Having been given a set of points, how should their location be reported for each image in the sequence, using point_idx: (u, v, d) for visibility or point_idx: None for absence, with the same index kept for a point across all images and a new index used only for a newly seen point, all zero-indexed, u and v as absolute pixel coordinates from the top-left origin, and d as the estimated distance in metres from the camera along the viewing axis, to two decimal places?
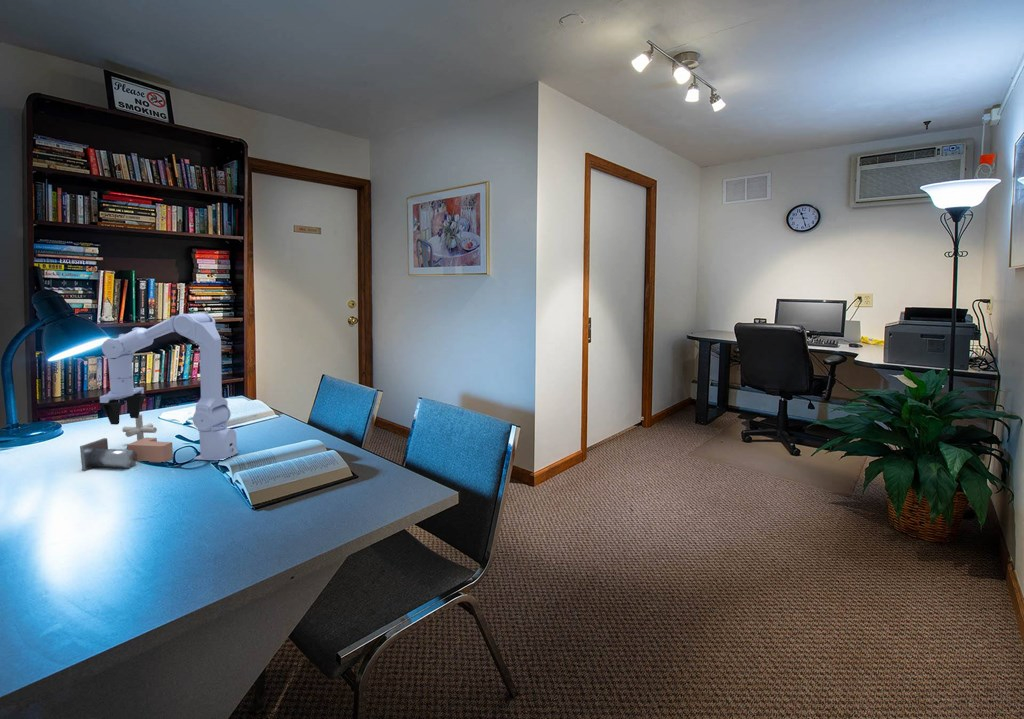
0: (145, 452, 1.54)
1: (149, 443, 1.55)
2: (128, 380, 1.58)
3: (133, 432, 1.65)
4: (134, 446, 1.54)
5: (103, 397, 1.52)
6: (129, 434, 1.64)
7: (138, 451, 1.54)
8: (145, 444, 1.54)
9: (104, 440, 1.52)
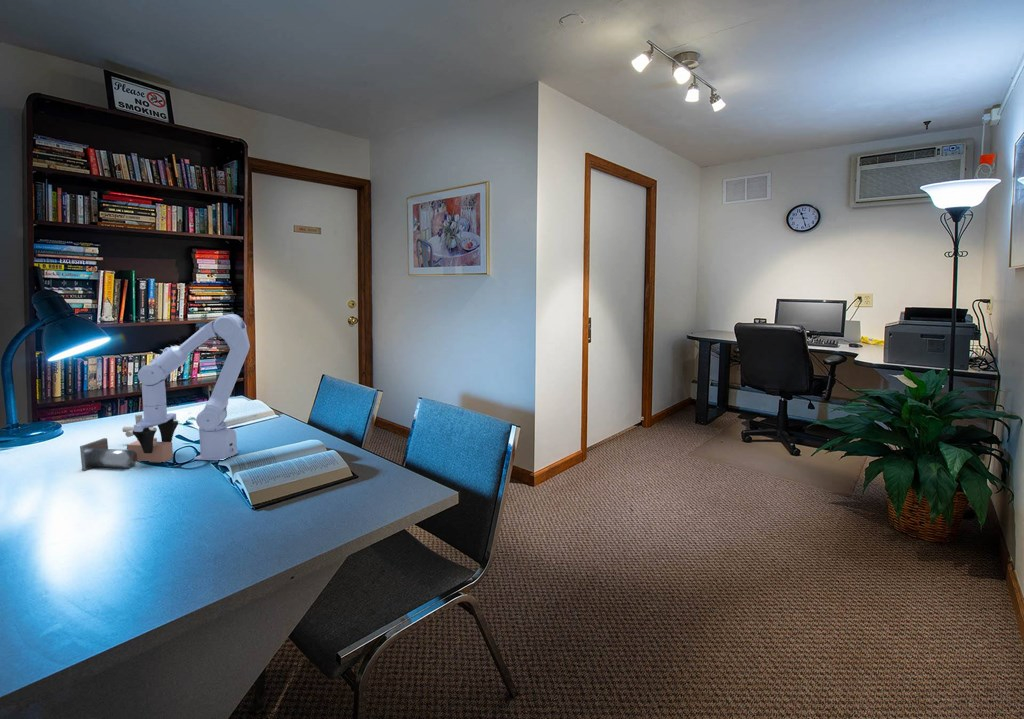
0: None
1: None
2: (162, 407, 1.53)
3: None
4: (134, 446, 1.54)
5: (137, 426, 1.47)
6: (129, 434, 1.64)
7: (138, 451, 1.54)
8: None
9: (104, 440, 1.52)
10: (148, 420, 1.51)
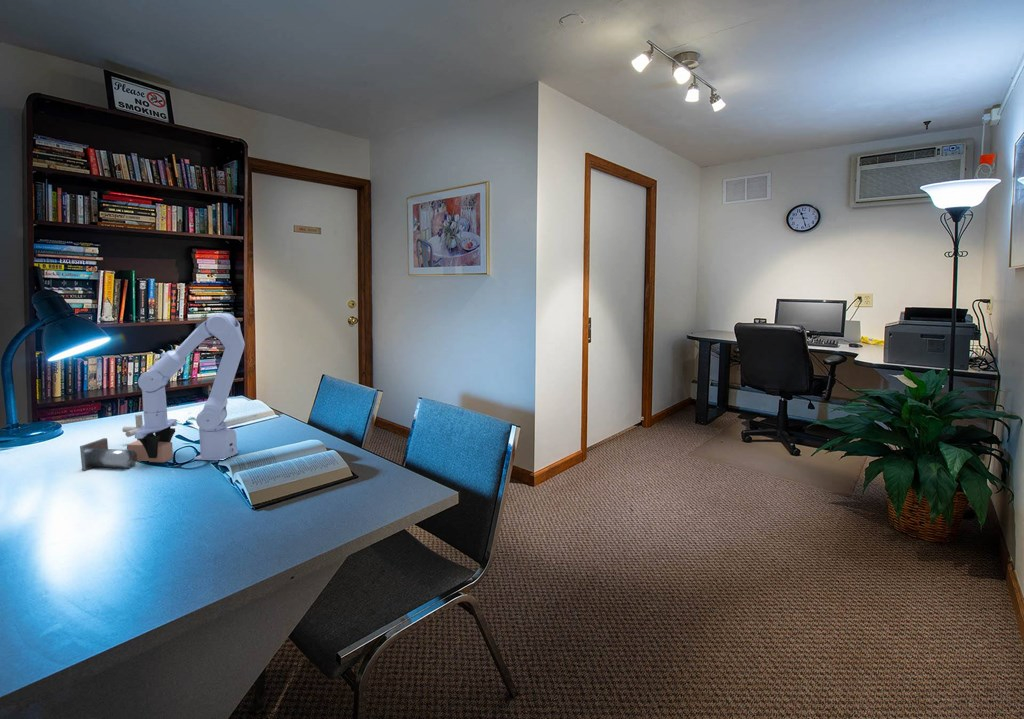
0: (145, 452, 1.54)
1: None
2: (162, 414, 1.53)
3: (133, 432, 1.65)
4: (134, 446, 1.54)
5: (138, 432, 1.47)
6: (129, 434, 1.64)
7: (138, 451, 1.54)
8: None
9: (104, 440, 1.52)
10: (149, 426, 1.52)
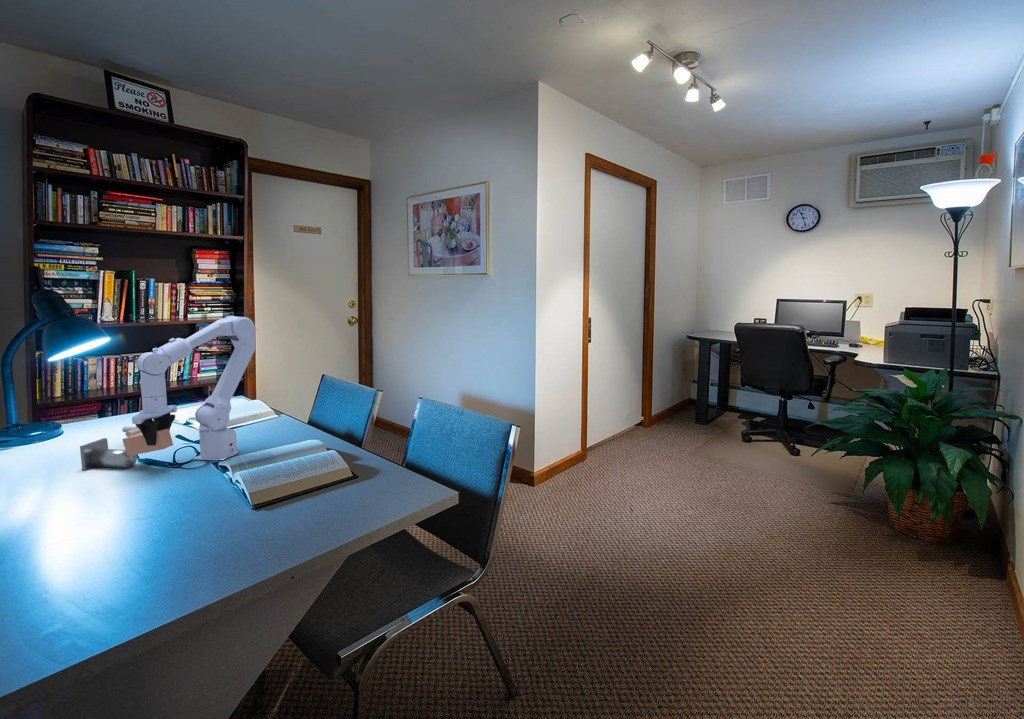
0: (142, 442, 1.46)
1: None
2: (162, 398, 1.45)
3: (133, 432, 1.65)
4: (130, 439, 1.46)
5: (136, 418, 1.39)
6: (129, 434, 1.64)
7: (135, 443, 1.46)
8: (141, 435, 1.46)
9: (104, 440, 1.52)
10: (147, 412, 1.43)
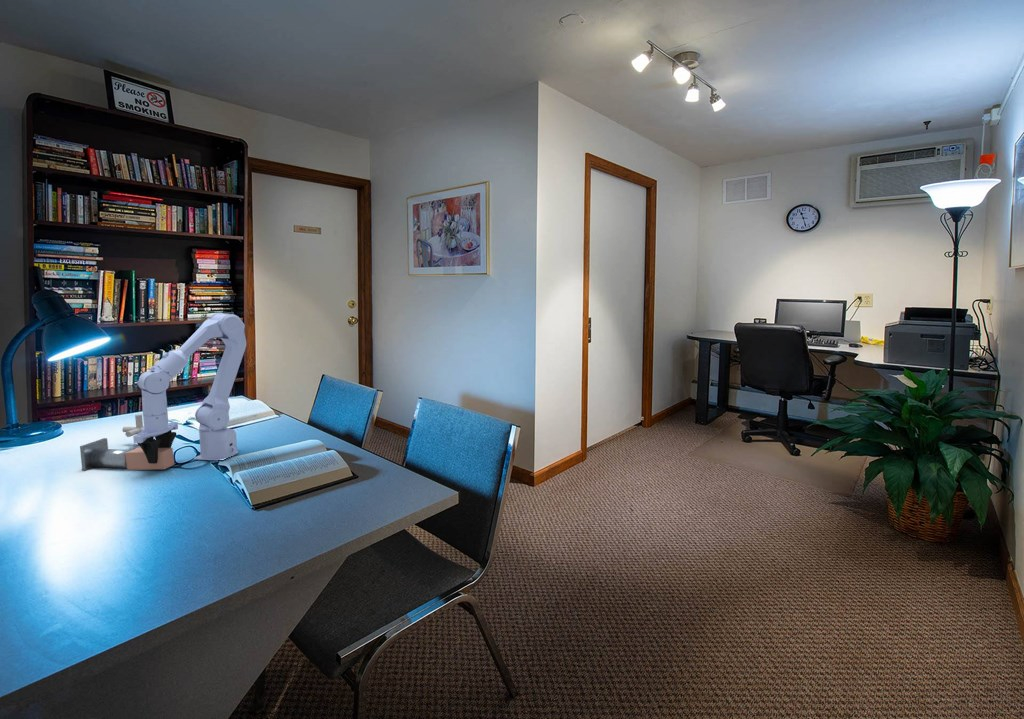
0: (145, 459, 1.46)
1: None
2: (163, 417, 1.46)
3: (133, 432, 1.65)
4: (133, 454, 1.46)
5: (137, 437, 1.40)
6: (129, 434, 1.64)
7: (137, 458, 1.46)
8: None
9: (104, 440, 1.52)
10: (148, 430, 1.44)
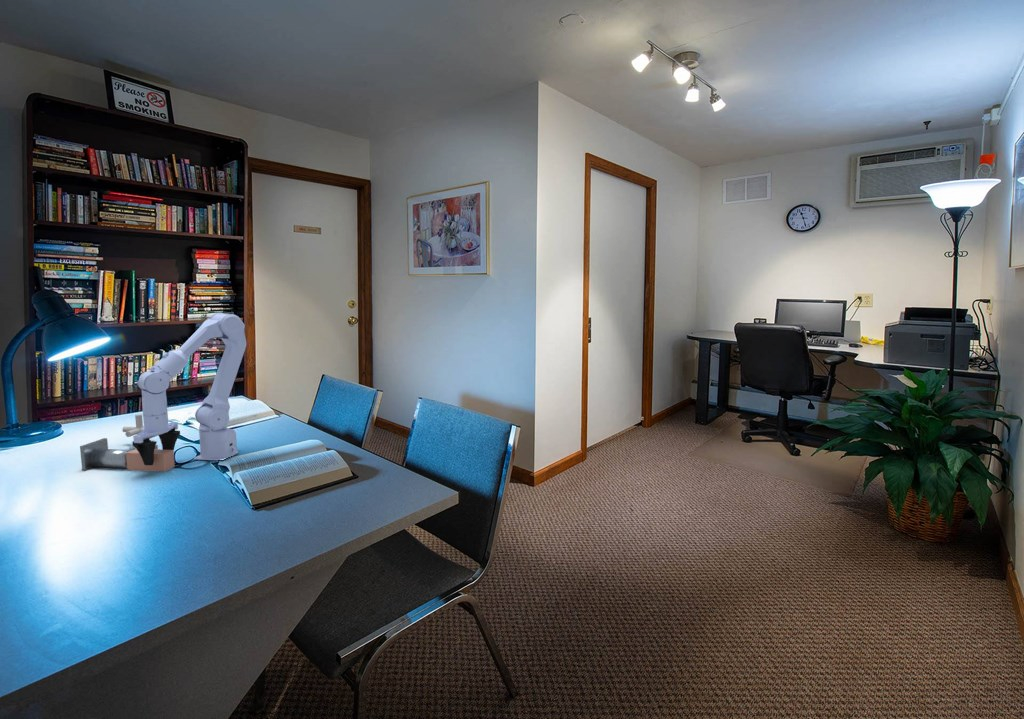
0: None
1: None
2: (163, 417, 1.46)
3: (133, 432, 1.65)
4: (134, 454, 1.46)
5: (137, 437, 1.40)
6: (129, 434, 1.64)
7: (138, 459, 1.46)
8: None
9: (104, 440, 1.52)
10: (148, 430, 1.44)
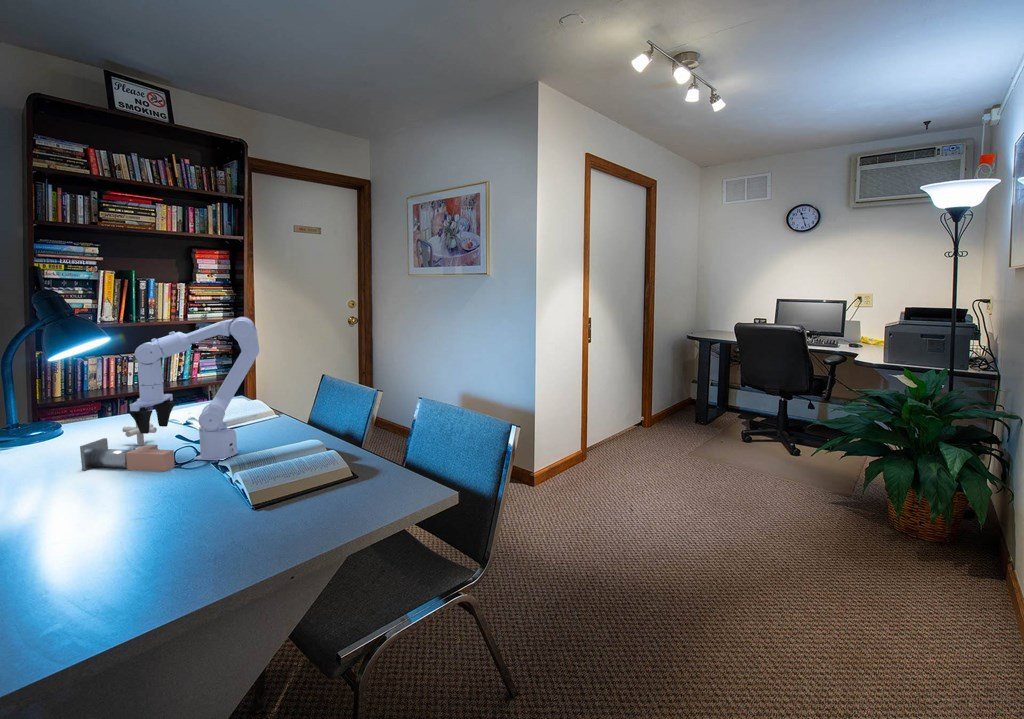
0: (145, 461, 1.46)
1: (149, 451, 1.48)
2: (158, 387, 1.50)
3: (133, 432, 1.65)
4: (134, 454, 1.46)
5: (133, 405, 1.44)
6: (129, 434, 1.64)
7: (138, 459, 1.46)
8: (145, 452, 1.47)
9: (104, 440, 1.52)
10: (144, 400, 1.48)
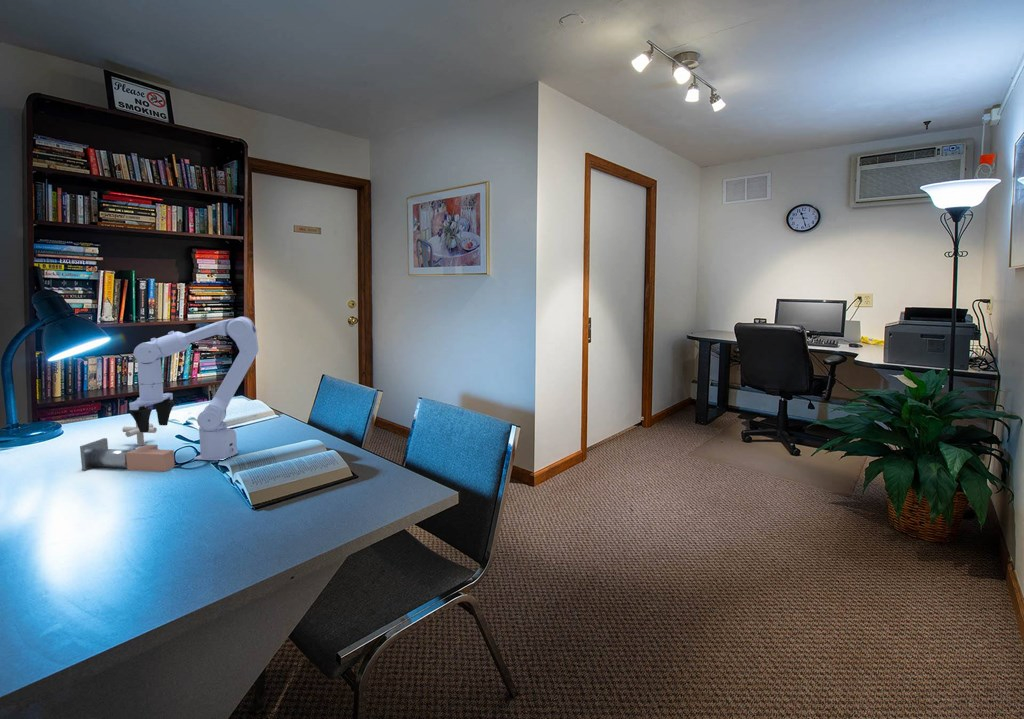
0: (145, 461, 1.46)
1: (149, 451, 1.48)
2: (158, 386, 1.51)
3: (133, 432, 1.65)
4: (134, 454, 1.46)
5: (133, 404, 1.45)
6: (129, 434, 1.64)
7: (138, 459, 1.46)
8: (145, 452, 1.47)
9: (104, 440, 1.52)
10: (144, 399, 1.49)
